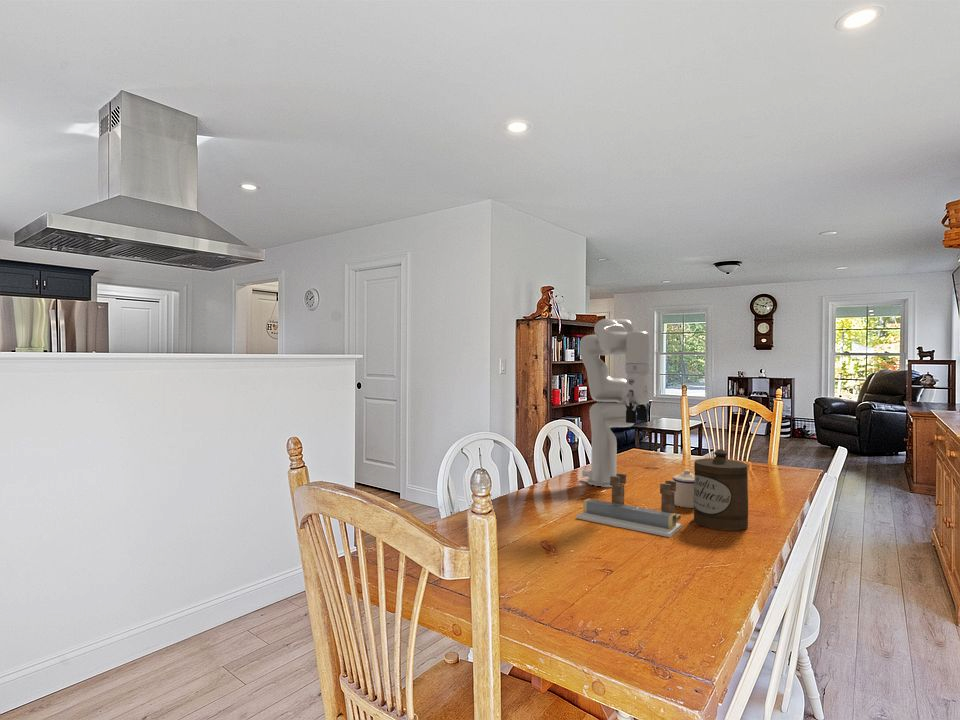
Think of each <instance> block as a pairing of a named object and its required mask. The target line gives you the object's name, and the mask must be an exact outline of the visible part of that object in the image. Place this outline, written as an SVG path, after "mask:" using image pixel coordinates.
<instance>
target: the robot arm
mask: <svg viewBox="0 0 960 720" xmlns="http://www.w3.org/2000/svg"><path fill="white" fill-rule="evenodd" d="M650 340H651V339H650V334H649V333H648V332H647V331H634V326H633V323H632V322H631V320H629V319H627V318H602V319H600V320H598V321H597V322H596V323H595V325H594V334H588V335H584V336H583V337H581V339H580V341H579V355H580V358H581V360H582V363H583V365H584V367H585V370H586V374H587V375H586V376H587V382H588V387H589V393H590V396H591V399H592V400H593V401H594V402H596V403H594V404H592V405H591V406H590V407H589V422H590V426H591V427H590V428H591V431H590V432H591V453H590V455H591V456H590V457H591V464H590V465H591V466H590V467H591V468H590V469H591V470H589V471H588V470H582V473H581V474H582V476H583V477H587V480H586V483H587V484H588V485H590V486H592V485H594V487H597V486H601V487H600V488H612V486H610V476H616V473H617V458H618V457H617V455H618V453H617V452H618V450H617V449H618V447H617V446H618V445H617V444H618V443H617V436H616V435H615V433H614V432H613V431H612V430H611V428H629V427H633V426H634V425H635V424H636V423H637V421H642V422H643V421H644V422H645V421H647V420H648V416H647V415H648V404H649V403H650V400H651V397H650V379H649V374H650ZM620 355H625V356H624V357H625V359H624V360H625V361H624V362H625V366H624V368H625V369H624V370H625V371H624V374H625V375H626V379H625V378H623V377H611V376H610V374H609V373H610V372H609V368H608V365H607V364H606V363H605V362H604V360H603V359H601V358H600V357H599V356H620Z"/></svg>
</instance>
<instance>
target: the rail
mask: <svg viewBox="0 0 960 720" xmlns="http://www.w3.org/2000/svg"><path fill="white" fill-rule="evenodd" d="M582 502H583V504H582V507H583V508H582V510H583V511H582V512H584V513H589V514H594V515H599V516H604V517H609V518H614V519H619V520H625V521H630V522H635V523H640V524H645V525H650V526H655V527H660V528H666V529H671V530H673V529H674V528H675V527H676V523H677V521H676V514H677V513H675V514H673V513H668V512H662V511H661V510H658V511H656V510H657V509H652V510H651V508H646V509H645V507H641V508H639V507H640V506H635V507H634V505H629V504H624V505H622V504H617V503H612V501H611V502H610V501H605V500H599V499H593V498H586V499H583V501H582ZM628 505H629V506H628Z"/></svg>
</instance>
